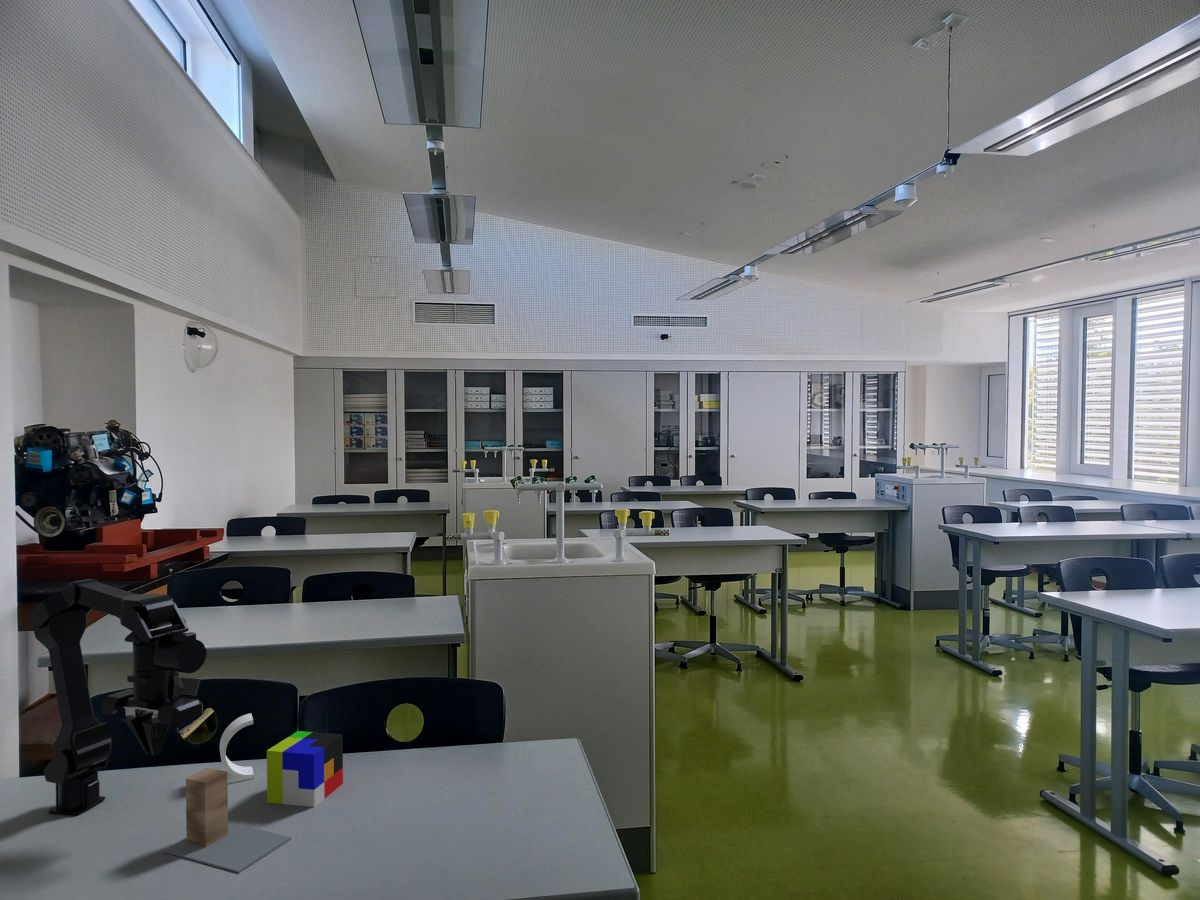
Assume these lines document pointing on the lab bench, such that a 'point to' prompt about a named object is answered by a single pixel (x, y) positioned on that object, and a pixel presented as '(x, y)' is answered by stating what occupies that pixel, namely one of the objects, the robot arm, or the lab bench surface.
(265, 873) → the lab bench surface
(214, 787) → the walnut block
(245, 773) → the headphone stand
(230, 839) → the slate mat
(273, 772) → the puzzle toy
